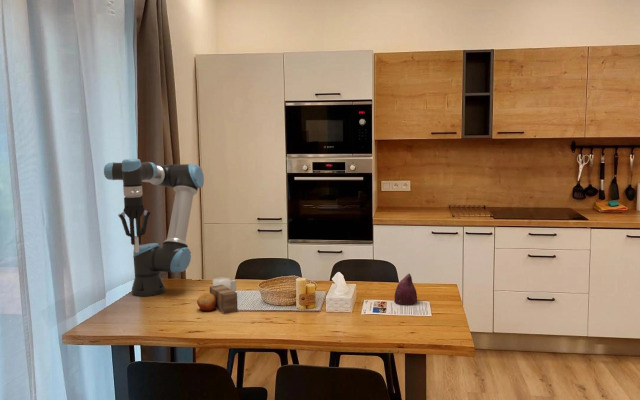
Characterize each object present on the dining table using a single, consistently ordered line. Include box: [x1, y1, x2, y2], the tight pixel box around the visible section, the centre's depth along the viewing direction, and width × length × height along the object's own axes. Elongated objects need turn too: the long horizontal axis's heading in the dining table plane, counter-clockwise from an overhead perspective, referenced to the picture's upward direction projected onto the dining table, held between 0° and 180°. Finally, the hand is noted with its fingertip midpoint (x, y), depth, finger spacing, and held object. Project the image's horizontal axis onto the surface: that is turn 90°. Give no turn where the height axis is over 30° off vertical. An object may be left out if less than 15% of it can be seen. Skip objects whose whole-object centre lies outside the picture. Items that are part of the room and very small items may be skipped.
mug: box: [212, 276, 237, 292], centre depth 269 cm, size 8×11×9 cm
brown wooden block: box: [209, 285, 239, 314], centre depth 254 cm, size 16×6×8 cm, turn 32°
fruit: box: [196, 292, 216, 312], centre depth 253 cm, size 8×8×8 cm
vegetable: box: [393, 273, 418, 306], centre depth 256 cm, size 10×10×15 cm
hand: (136, 251), depth 247 cm, fingers closed
